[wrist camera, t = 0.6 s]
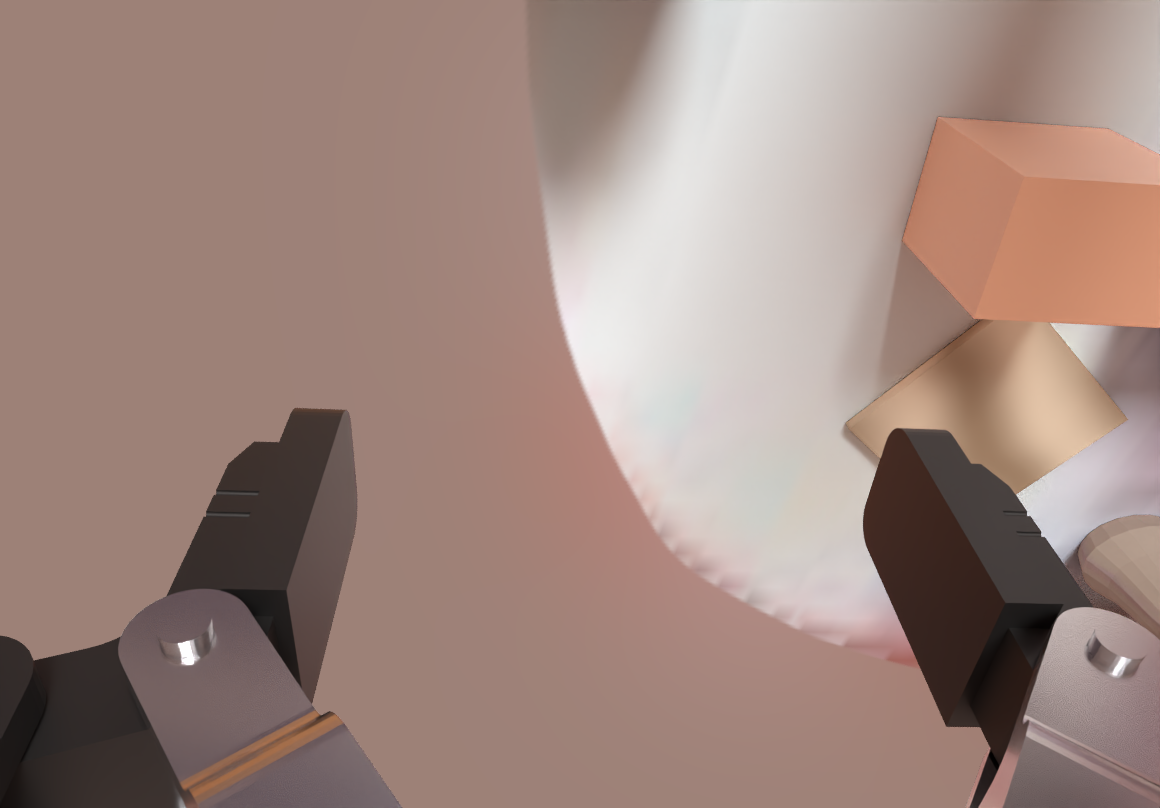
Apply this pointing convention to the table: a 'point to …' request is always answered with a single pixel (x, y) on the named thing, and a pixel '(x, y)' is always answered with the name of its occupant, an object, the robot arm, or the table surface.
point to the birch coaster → (999, 401)
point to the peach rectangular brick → (1040, 222)
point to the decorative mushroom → (1126, 566)
